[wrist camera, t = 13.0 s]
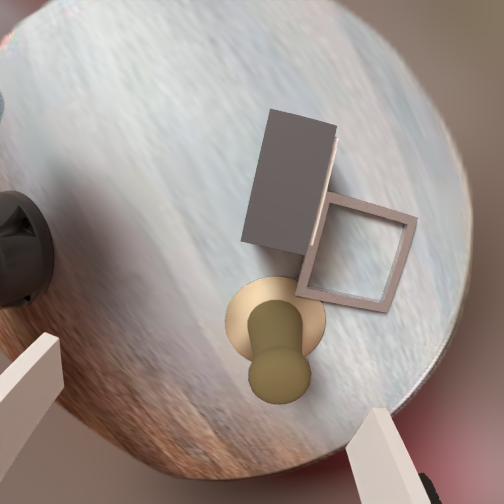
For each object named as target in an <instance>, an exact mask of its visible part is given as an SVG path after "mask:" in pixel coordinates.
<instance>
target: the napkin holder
mask: <svg viewBox="0 0 504 504" xmlns="http://www.w3.org/2000/svg"><path fill="white" fill-rule="evenodd" d="M336 128H337V126H335V125H332V124H329V123H325V122H321V121H318V120H314V119H310V118H307V117H303V116H299V115H295V114H291V113H286V112H282V111H278V110H273V109H270V112H269V116H268V121H267V125H266V129H265V134H264V138H263V143H262V147H261V151H260V156H259V160H258V165H257V169H256V174H255V178H254V183H253V187H252V192H251V196H250V201H249V205H248V210H247V214H246V219H245V223H244V228H243V233H242V237H241V241H242V242H246V243H251V244H255V245H260V246H264V247H269V248H274V249H278V250H283V251H287V252H292V253H296V254H301V255H305V256H306V253H307V250H308V246H309V245H313V243H314V239H315V235H316V231H317V228H318V224H319V220H320V216H321V212H322V208H323V204H324V200H325V196H326V191H327V187H328V183H329V179H330V175H331V170H332V166H333V162H334V157H335V153H336V148H337V144H338V139H339V138H337V137H335V133H336Z"/></svg>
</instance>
